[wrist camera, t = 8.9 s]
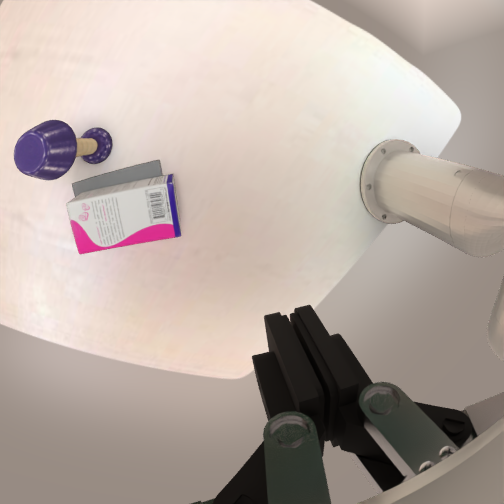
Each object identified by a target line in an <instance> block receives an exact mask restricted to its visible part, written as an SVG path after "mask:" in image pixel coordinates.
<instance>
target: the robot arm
mask: <svg viewBox="0 0 504 504" xmlns="http://www.w3.org/2000/svg"><path fill="white" fill-rule="evenodd" d="M361 193H362V198H363V201H364V204H365V206H366V208H367V209H368V211H369V212H370V213H371V214H372V216H374V217H375V218H377V219H378V220H380V221H382V222H385V223H388V224H396V223H400V222H402V221H406V222H408V223H410V224H412V225H414V226H416V227H418V228H420V229H422V230H424V231H426V232H427V233H429V234H431V235H433V236H435V237H437V238H439V239H441V240H442V241H444V242H446V243H448V244H450V245H452V246H454V247H455V248H457V249H459V250H461V251H463V252H464V253H466V254H469V255H471V256H474V257H488V256H491V255H493V254H496V253H498V252H501V251H503V250H504V176H503V175H500V174H496V173H492V172H489V171H486V170H482V169H478V168H475V167H471V166H468V165H464V164H460V163H456V162H452V161H448V160H443V159H439V158H435V157H431V156H426V155H421V154H420V152H419V151H418V149H417V148H416V147H415V146H414V145H412V144H411V143H409V142H406V141H404V140H398V139H392V140H387V141H384V142H383V143H381V144H379V145H378V146H377V147H376V148H375V149H373V151H372V152H371V153H370V155H369V156H368V158H367V160H366V162H365V164H364V167H363V170H362V176H361ZM264 320H265V327H266V333H267V340H268V347H269V352H267V353H262V354H258V355H254V356H252V359H253V364H254V369H255V374H256V378H257V382H258V386H259V390H260V393H261V397H262V401H263V404H264V407H265V411H266V414H267V418H268V422H267V424H266V426H265V428H264V432H263V438H264V441H263V442H262V444H261V445H260V446H259V447H258V449H257V450H256V451H255V452H254V453H253V455H252V456H251V457H250V459H249V460H248V461H247V462H246V463H245V464H244V466H243V467H242V468H241V469H240V470H239V471H238V473H237V474H236V475H235V476H234V477H233V478H232V479H231V481H230V482H229V483H228V484H227V485H226V486H225V487H224V488H223V490H222V491H221V492H220V493H219V494H218V495H217V497H216V498H214V499H211V500H208V501H205V502H201V501H198V502H194V503H191V504H331V499H330V494H329V489H328V484H327V479H326V474H325V469H324V464H323V459H322V457H323V451H324V441H329V440H330V441H331V443H332V445H333V447H336V446H338V445H339V446H340V448H341V450H344V451H347V452H349V455H350V457H351V458H352V460H353V461H354V462H355V464H356V465H357V467H358V468H359V469H360V471H361V472H362V473H363V475H364V476H365V478H366V479H367V480H368V482H369V483H370V485H371V486H372V487H373V489H374V490H375V491H376V493H377V494H378V495H376V496H374V497H372V498H369V499H367V500H364V501H362V502H360V503H357V504H504V392H502V393H500V394H497V395H495V396H493V397H490V398H488V399H485V400H483V401H480V402H478V403H475V404H473V405H470V406H467V407H465V408H464V410H463V411H458V410H455V409H449V408H443V407H438V406H432V405H428V404H422V403H418V402H413V401H412V400H411V399H410V398H409V397H408V396H407V395H406V394H405V393H404V392H403V391H402V390H401V389H400V388H399V387H398V386H396V385H394V384H391V383H388V382H377V383H372V381H371V380H370V378H369V377H368V375H367V374H366V372H365V370H364V369H363V367H362V366H361V364H360V363H359V361H358V360H357V358H356V357H355V355H354V354H353V352H352V351H351V349H350V348H349V346H348V345H347V344H346V342H345V340H344V339H343V338H342V336H341V335H340V334H334V335H331V336H330V335H329V333H328V332H327V330H326V329H325V327H324V326H323V324H322V322H321V321H320V319H319V318H318V316H317V314H316V313H315V311H314V310H313V308H312V307H311V305H307V306H303V307H299V308H295V310H294V313H291V314H290V321H289V319H288V317H287V315H283V316H281V314H280V312H278V313H274V314H269V315H265V316H264ZM487 338H488V342H489V345H490V347H491V349H492V350H493V352H494V353H495V354H496V355H497V356H498V357H499V358H500V359H501V360H502V361H504V276H503V279H502V283H501V286H500V289H499V292H498V295H497V298H496V301H495V304H494V307H493V310H492V313H491V316H490V319H489V323H488V329H487Z"/></svg>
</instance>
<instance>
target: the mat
mask: <svg viewBox="0 0 504 504" xmlns="http://www.w3.org/2000/svg"><path fill="white" fill-rule="evenodd" d="M160 176H163V175H162V170H161V165H160V160H156V161H152V162H148V163H143V164H139V165H135V166H132V167H128V168H124V169H120V170H116V171H113V172H109V173H106V174H102V175H99V176H95V177H92V178H88V179H85V180H82V181H79V182H76V183H73V184H72V187H73V191H74V195H75V197H77V196H78V195H79V194H81V193H83V192H86V191H90V190H95V189H99V188H104V187H109V186H113V185H118V184H123V183H128V182H133V181H138V180H143V179H149V178H154V177H160Z"/></svg>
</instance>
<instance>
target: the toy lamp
mask: <svg viewBox="0 0 504 504" xmlns="http://www.w3.org/2000/svg"><path fill="white" fill-rule="evenodd" d="M111 149H112V139H111V136H110V135H109V133H108V132H107V131H106V130H104V129H102V128H92V129H90V130H88V131H86V132H85V133H84V134H83V135H82V137H81V138H79V139H77V138H76V136H75V134H74V132H73V130H72V128H71V127H70V126H69V125H68V124H66V123H65V122H63V121H59V120H49V121H46V122H43V123H41V124H39V125H37V126H35V127H34V128H32V129H30V130H29V131H27V132H25V133H24V134H23V135H22V136H21V137H20V138H19V140H18V141H17V144H16V146H15V150H14V160H15V164H16V166H17V168H18V169H19V170H20V171H21V172H22V173H23V174H25V175H28V176H31V177H35V178H39V179H43V180H54V179H57V178H59V177H61V176H63V175H64V174H65V173H66V172H67V171H68V170H69V169H70V168H71V166H72V165H73V163H74V160H75V158H76V157H77V156H81V157H82V159H83V160H84V161H86V162H88V163H91V164H97V163H100V162H102V161H104V160H105V159H106V158H107V157H108V156H109V154H110V152H111Z"/></svg>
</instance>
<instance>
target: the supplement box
mask: <svg viewBox="0 0 504 504" xmlns="http://www.w3.org/2000/svg"><path fill="white" fill-rule="evenodd" d="M66 206H67V211H68V215H69V219H70V223H71V227H72V231H73V234H74V238H75V241H76V245H77V248H78V252H79V254H85V253H90V252H95V251H100V250H106V249H111V248H117V247H123V246H128V245H134V244H139V243H145V242H151V241H157V240H163V239H169V238H175V237H180V236H181V229H180V218H179V212H178V205H177V199H176V192H175V185H174V177H173V174H170V175H165V176H160V177H154V178H149V179H143V180H138V181H133V182H128V183H123V184H118V185H113V186H109V187H104V188H99V189H95V190H90V191H86V192H83V193H81V194H79V195H78V196H77V197H75V198H74V199H72V200H71V201H69V202H68V203H67V204H66Z"/></svg>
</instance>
